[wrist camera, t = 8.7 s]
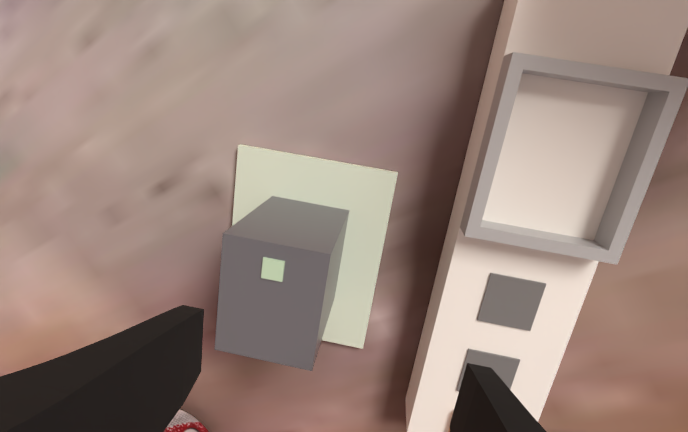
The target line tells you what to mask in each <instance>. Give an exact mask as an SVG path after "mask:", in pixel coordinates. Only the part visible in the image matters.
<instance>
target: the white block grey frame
mask: <svg viewBox="0 0 688 432" xmlns="http://www.w3.org/2000/svg"><path fill="white" fill-rule="evenodd" d="M687 28H688V0H504V3H503V7H502V11H501V15H500V19H499V23H498V27H497V32H496V36H495V40H494V44H493V48H492V52H491V56H490V60H489V64H488V68H487V72H486V76H485V80H484V84H483V88H482V92H481V96H480V100H479V104H478V108H477V112H476V116H475V120H474V124H473V128H472V132H471V136H470V140H469V144H468V148H467V152H466V157H465V161H464V165H463V169H462V173H461V177H460V181H459V185H458V189H457V193H456V197H455V201H454V205H453V209H452V213H451V217H450V221H449V225H448V229H447V233H446V237H445V241H444V245H443V249H442V253H441V257H440V261H439V265H438V269H437V273H436V278H435V282H434V286H433V290H432V294H431V298H430V302H429V306H428V310H427V314H426V318H425V322H424V326H423V330H422V334H421V338H420V342H419V346H418V350H417V354H416V358H415V362H414V366H413V370H412V374H411V378H410V382H409V386H408V390H407V394H406V399H405V402H406V428H407V432H450V422H451V418H452V415H453V411H454V408H455V404H456V401H457V397H458V394H459V390H460V387H461V383H462V379H463V376H464V372H465V369H466V365H467V363H470V364H475V365H480V366H485V367H490V368H492V369H493V370H494V372H495V373H496V374H497V375H498V376H499V377H500V378H501V379H502V381H503V382H504V383H505V384H506V385H507V387H508V388H509V389H510V390H511V391H512V393H513V394H514V395H515V396H516V397H517V398H518V400H519V401H520V402H521V403H522V404H523V406H524V407H525V408H526V409H527V410H528V411H529V413H530V414H531V415H532V416H533V417H534V418H535V420H536V421H537V422H538V420H539V418H540V415H541V412H542V410H543V407H544V404H545V402H546V399H547V397H548V394H549V391H550V389H551V386H552V383H553V381H554V378H555V375H556V373H557V370H558V368H559V365H560V362H561V360H562V357H563V354H564V352H565V349H566V347H567V344H568V341H569V339H570V336H571V333H572V331H573V328H574V325H575V323H576V320H577V318H578V315H579V312H580V310H581V307H582V304H583V302H584V299H585V296H586V294H587V291H588V289H589V286H590V283H591V281H592V278H593V275H594V273H595V270H596V267H597V265H598V262H599V261H600V262H606V263H611V264H618V262H619V259H620V257H621V254H622V251H623V249H624V246H625V244H626V241H627V239H628V236H629V234H630V231H631V229H632V226H633V224H634V221H635V219H636V216H637V214H638V211H639V209H640V206H641V203H642V201H643V198H644V196H645V193H646V191H647V188H648V186H649V183H650V181H651V178H652V176H653V173H654V171H655V168H656V166H657V163H658V161H659V158H660V155H661V153H662V150H663V148H664V145H665V143H666V140H667V138H668V135H669V133H670V130H671V128H672V125H673V123H674V120H675V118H676V115H677V113H678V110H679V108H680V105H681V102H682V100H683V97H684V95H685V92H686V90H687V87H688V78H683V77H676V76H669V75H670V72H671V70H672V67H673V65H674V62H675V59H676V57H677V54H678V51H679V49H680V46H681V43H682V41H683V38H684V36H685V33H686V30H687Z"/></svg>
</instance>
